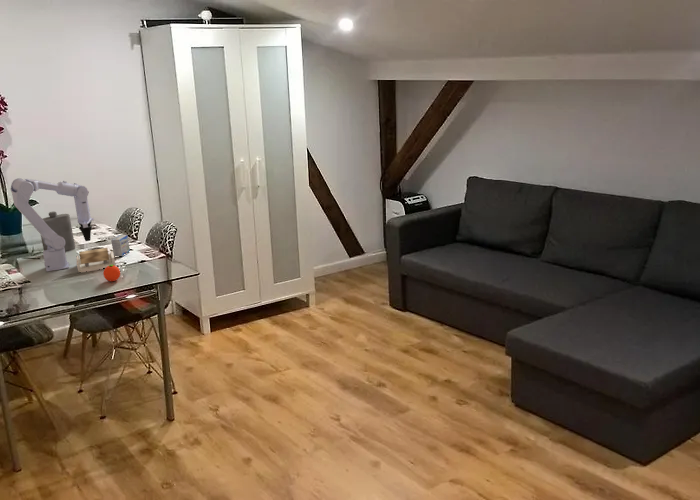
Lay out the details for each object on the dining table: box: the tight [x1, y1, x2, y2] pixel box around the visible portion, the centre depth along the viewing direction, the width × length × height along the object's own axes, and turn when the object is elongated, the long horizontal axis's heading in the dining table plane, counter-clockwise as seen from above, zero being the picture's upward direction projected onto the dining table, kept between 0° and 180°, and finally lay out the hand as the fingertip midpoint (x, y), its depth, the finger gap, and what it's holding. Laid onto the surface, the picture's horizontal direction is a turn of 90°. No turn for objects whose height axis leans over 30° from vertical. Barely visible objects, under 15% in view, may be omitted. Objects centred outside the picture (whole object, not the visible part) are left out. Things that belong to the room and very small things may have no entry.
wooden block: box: [78, 247, 109, 264], centre depth 316 cm, size 12×4×4 cm, turn 110°
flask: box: [40, 211, 76, 252], centre depth 339 cm, size 15×6×20 cm, turn 135°
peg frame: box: [75, 250, 116, 274], centre depth 318 cm, size 16×11×4 cm
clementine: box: [102, 265, 121, 282], centre depth 299 cm, size 8×7×7 cm
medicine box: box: [111, 234, 131, 257], centre depth 332 cm, size 8×4×9 cm, turn 168°
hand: (87, 238), depth 326 cm, fingers open, 7 cm apart
